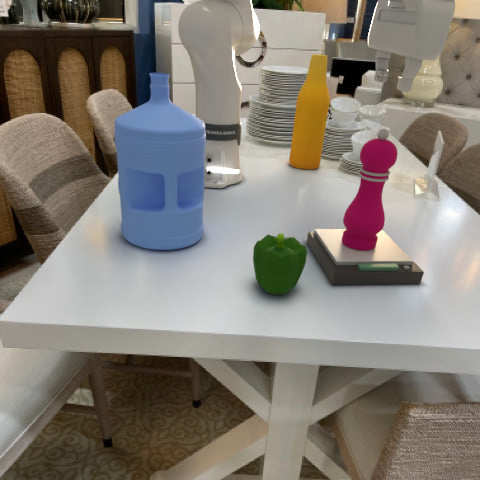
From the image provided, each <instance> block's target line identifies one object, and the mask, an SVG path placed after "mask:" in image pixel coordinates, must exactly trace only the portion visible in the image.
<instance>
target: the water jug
mask: <svg viewBox="0 0 480 480" xmlns="http://www.w3.org/2000/svg"><path fill="white" fill-rule="evenodd" d="M149 77H150V84H149V88H150V98H149V100H148V101H146V102H145V103H143V104H141V105H139V106H137V107H135V108H133V109H131V110H129V111H127V112H124V113H122V114H120V115H119V116H117V117H116V118H115V120H114V145H115V147H116V149H115V150H116V160H117V161H116V162H117V175H118V178H117V187H118V189H117V190H118V194H119V200H120V213H121V214H120V215H121V221H120V230H121V234H122V236H123V238H124V239H125V240H127V242H128V243H130V244H132V245H134V246H137V247H139V248H143V249H147V250H153V251H172V250H180V249H184V248H188V247H190V246H192V245H194V244H196V243H198V242H199V241H200V240H201V239H202V237H203V235H204V228H205V226H204V225H205V223H204V198H205V197H204V195H205V187H204V162H205V148H206V134H205V124H204V122H203V121H202V120H200V119H199V118H197V117H196V115H193V114H192V113H190V112H189V111H186V110H185V109H183V108H182V107H180V106H178V105H176V104H174V103H173V102H172V101H171V99H170V90H171V87H170V86H171V85H170V83H169V82H170V81H169V79H170V73H165V72H150V73H149Z"/></svg>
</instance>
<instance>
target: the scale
mask: <svg viewBox="0 0 480 480" xmlns="http://www.w3.org/2000/svg"><path fill="white" fill-rule="evenodd" d="M345 230H346V228H343V229H341V228H338V229H336V228H335V229H334V228H314V230H313V231H308V232H307V238H306V244H307V246H308V248H309V249H310V251H311V253H312V254H313V257H314V258H315V259H316V261H317V262H318V264H319V266H320V267H321V268H322V271H323V272H324V274H325V275H326V277H327V278H328V280H329V282H330V283H331V285H332V286H362V285H363V286H367V285H369V286H370V285H374V286H375V285H421V283H422V280H423V276H424V274H425V271H424V270H423V269H422V268H421V267H420V266H419V265H418V264H416V262H415V261H414V260H413V259H412V258H411V257H410V256H409V255H408V254H407V253H406V252H405V251H404V250H403V249H402V248H401V247H400V246H399V245H398V244H397V243H396V242H395V241H394V240H393V239H392V238H391V237H390V236H389V234H387V233H386V232H385V231H384V230H383V229H382V230H381V231H380V232H379V233H377V234H376V235H377V237H378V240H377V244H376V247H375V248H374V249H372V250H356V249H352V248H349V247H347V246H345V245H344V244H343V242H342V236H343V232H344V231H345Z"/></svg>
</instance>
